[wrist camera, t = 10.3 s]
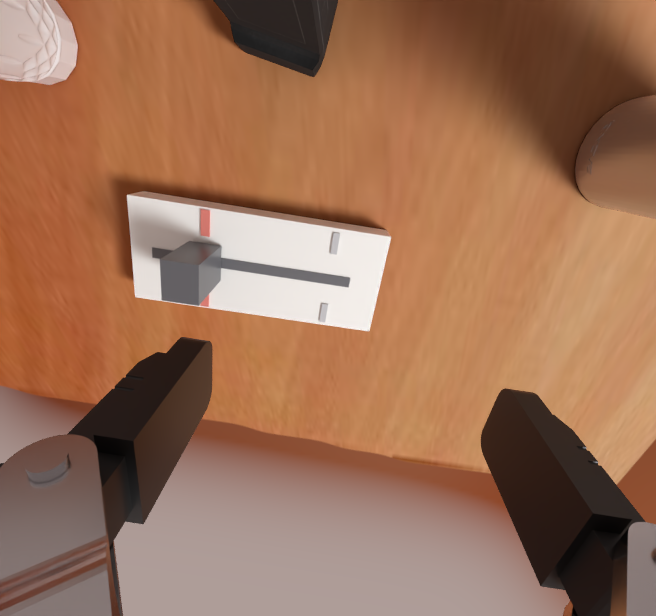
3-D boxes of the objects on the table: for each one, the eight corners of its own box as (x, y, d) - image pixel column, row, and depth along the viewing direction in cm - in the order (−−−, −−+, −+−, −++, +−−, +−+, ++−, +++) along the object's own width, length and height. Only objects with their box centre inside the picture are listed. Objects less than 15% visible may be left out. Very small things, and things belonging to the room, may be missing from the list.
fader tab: (221, 245, 32) (198, 265, 27) (220, 280, 34) (198, 305, 28) (189, 240, 32) (159, 259, 27) (189, 275, 34) (161, 300, 28)
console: (386, 230, 35) (391, 237, 32) (366, 318, 39) (369, 332, 36) (143, 190, 34) (125, 194, 31) (149, 286, 38) (134, 297, 35)
